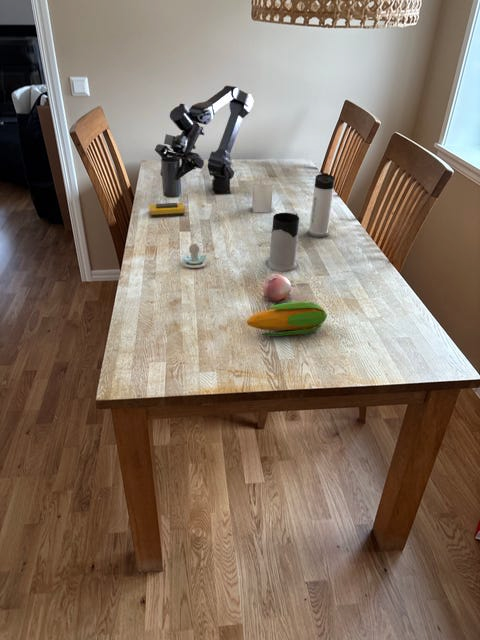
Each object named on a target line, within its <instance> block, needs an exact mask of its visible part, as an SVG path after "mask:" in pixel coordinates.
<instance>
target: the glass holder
mask: <svg viewBox="0 0 480 640" xmlns="http://www.w3.org/2000/svg"><path fill="white" fill-rule="evenodd" d="M272 216H273V217H272V228H271V232H270V233H271V236H270V237H271V238H270V249H269V259H268V261H267V265H268V267H269V268H271V269H272V270H275V271H279V272H289V271H292V270H294V269H295V268H297V265H298V264H297V261H296V259H297V251H298V250H297V249H298V241H299V226H300V217H299V214H298V212H296V211H295V212H293V213H291V212H278V213H275V214H274V215H272Z"/></svg>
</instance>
